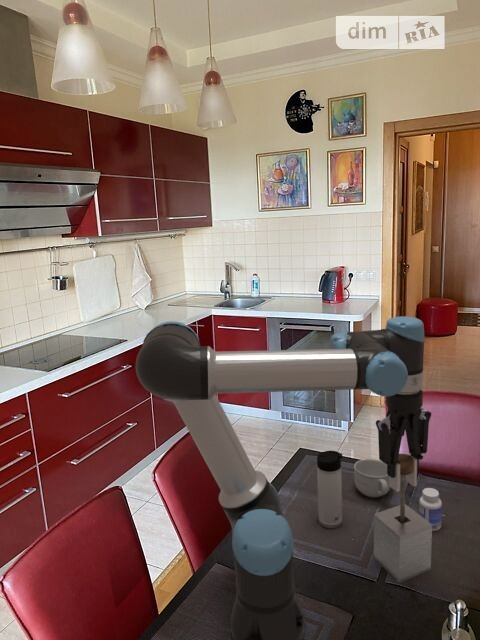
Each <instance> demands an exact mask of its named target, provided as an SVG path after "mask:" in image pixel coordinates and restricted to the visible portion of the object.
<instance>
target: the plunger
mask: <svg viewBox="0 0 480 640" xmlns="http://www.w3.org/2000/svg"><path fill="white" fill-rule="evenodd" d="M410 455H411V454H409V455H408V454H407V453H399V456H398V461H397V463H399V464H400V491H399V492H400V501H399V502H400V503H399V505H400V520H397V521H399V522H400V523H401V524H403V523H406V522H407V521H406V520H405V504H406V475H409V474H411V473H412V472H413V458H412V457H411V456H410Z"/></svg>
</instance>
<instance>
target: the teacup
mask: <svg viewBox="0 0 480 640" xmlns="http://www.w3.org/2000/svg"><path fill="white" fill-rule="evenodd" d="M353 469H354V472H353V476H354V477H353V480H354V485H355V487H356V489H357V490H358V491H359V492H360V493H362V495H364V496H366V497H369V498H380V497H382V496H384V495H386V494H388V492H389V491H390V489H391V487H390V486H389V476H388V474H387V464H385V463H384V462H382V461H381V460H380V459H373V458H364V459H359V460H357V461H355V463H354V465H353Z"/></svg>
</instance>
